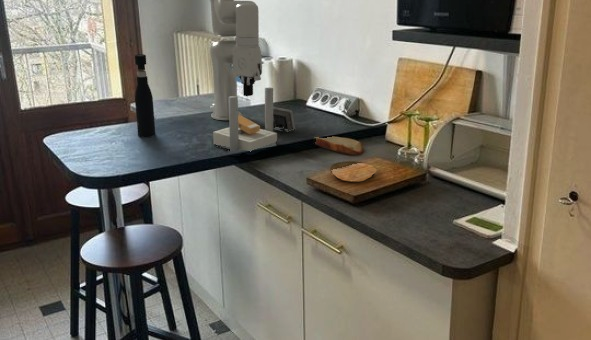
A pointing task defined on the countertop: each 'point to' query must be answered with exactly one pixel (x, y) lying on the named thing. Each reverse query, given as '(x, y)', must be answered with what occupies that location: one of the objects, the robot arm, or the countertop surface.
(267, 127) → the tall grey block
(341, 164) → the plant saucer
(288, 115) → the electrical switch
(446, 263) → the countertop surface
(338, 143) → the bread slice
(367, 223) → the countertop surface
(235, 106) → the post
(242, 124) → the rocker
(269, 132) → the grey shallow tray
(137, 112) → the wine bottle
